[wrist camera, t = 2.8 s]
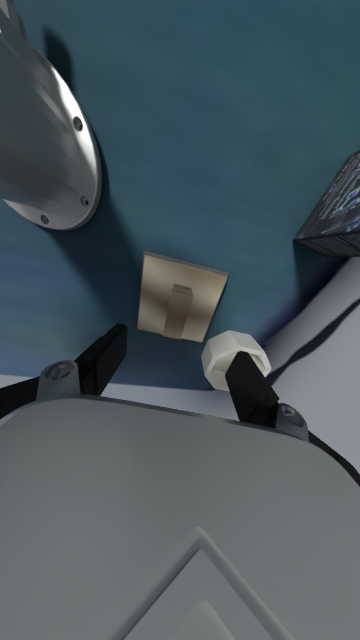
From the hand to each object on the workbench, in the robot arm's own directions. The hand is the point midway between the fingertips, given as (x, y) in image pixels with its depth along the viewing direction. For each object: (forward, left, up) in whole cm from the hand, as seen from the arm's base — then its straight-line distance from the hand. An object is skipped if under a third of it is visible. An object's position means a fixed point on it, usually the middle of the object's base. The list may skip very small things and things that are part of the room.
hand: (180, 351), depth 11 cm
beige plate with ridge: (0, -1, -11) cm, 11 cm away
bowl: (+8, +11, -11) cm, 18 cm away
